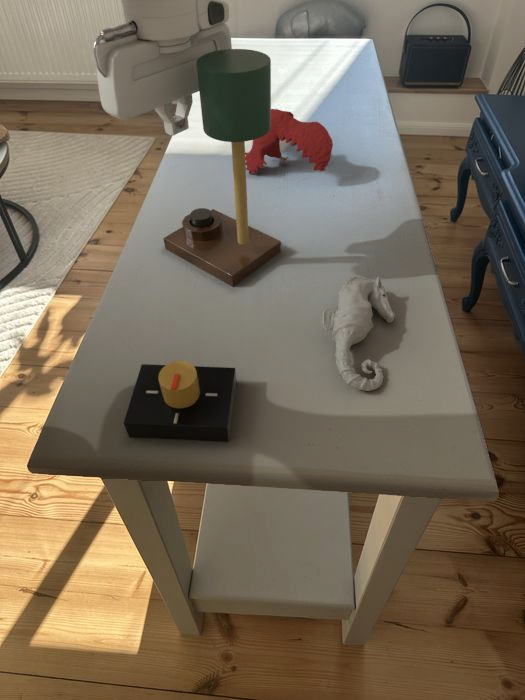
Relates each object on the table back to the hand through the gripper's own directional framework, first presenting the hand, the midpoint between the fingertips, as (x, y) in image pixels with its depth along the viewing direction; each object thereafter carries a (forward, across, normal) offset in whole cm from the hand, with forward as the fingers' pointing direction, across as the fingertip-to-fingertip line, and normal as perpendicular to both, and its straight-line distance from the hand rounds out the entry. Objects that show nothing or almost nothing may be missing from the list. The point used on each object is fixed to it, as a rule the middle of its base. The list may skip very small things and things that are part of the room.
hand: (177, 131), depth 67 cm
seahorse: (+20, 0, -33) cm, 39 cm away
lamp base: (+20, +4, -4) cm, 21 cm away
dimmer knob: (+17, -24, -23) cm, 37 cm away
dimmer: (+20, -24, -23) cm, 39 cm away
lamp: (+16, +3, -9) cm, 19 cm away
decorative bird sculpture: (+20, +33, +9) cm, 40 cm away
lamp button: (+17, +4, +1) cm, 17 cm away
